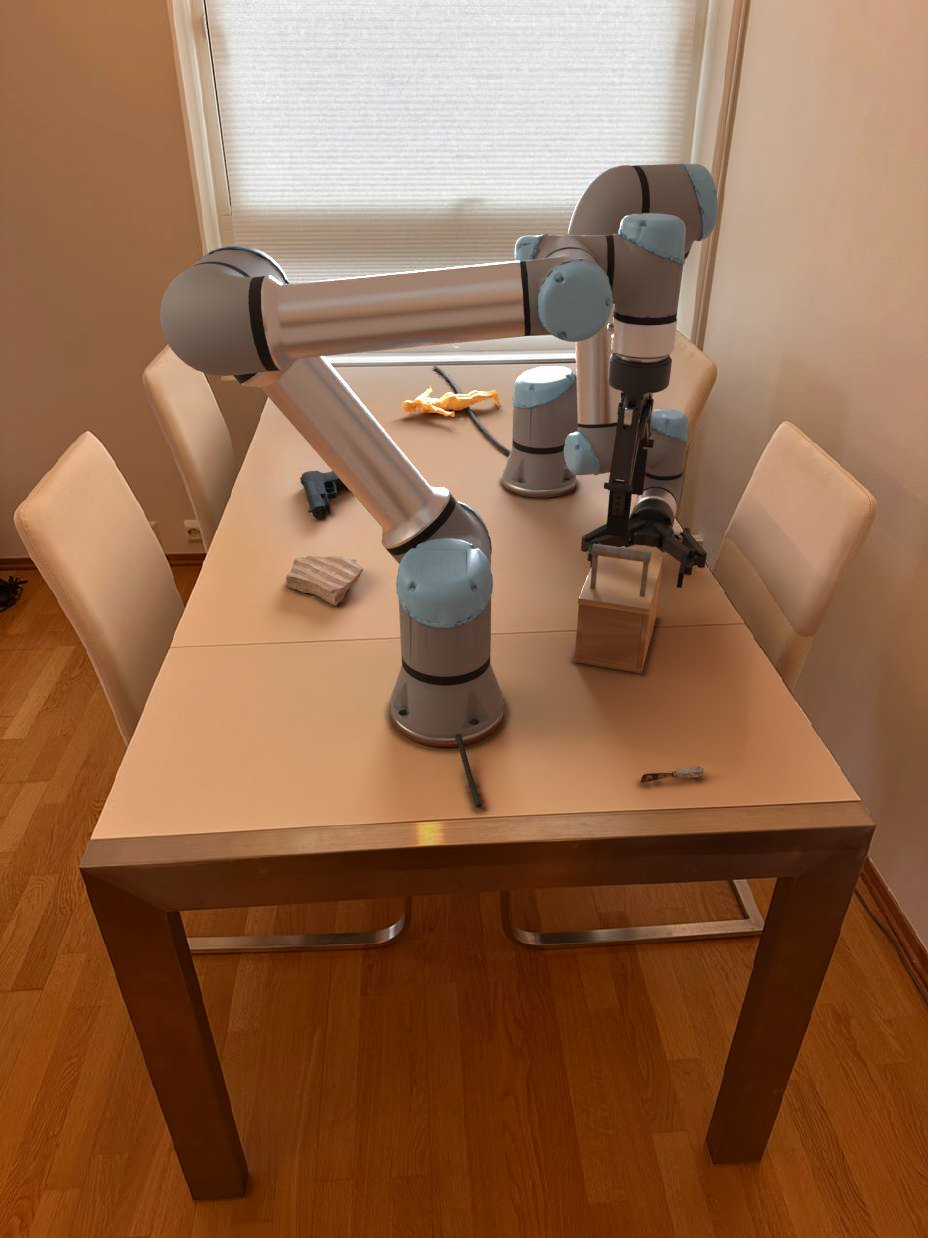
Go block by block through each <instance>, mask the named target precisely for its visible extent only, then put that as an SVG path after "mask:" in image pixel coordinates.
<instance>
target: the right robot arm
mask: <svg viewBox="0 0 928 1238" xmlns="http://www.w3.org/2000/svg"><path fill="white" fill-rule="evenodd" d="M715 183H716V182H715V179H714V178H713V176H712V174H711V173H710V171H709V170H708V168H706V167H705V166H703V165H702V164H699V163H685V162H682V161H679V162H677V163H663V164H662V163H661V164H634V165H630V164H620V165H616V166H613V167H610V168H607V169H606V170H603V172H601V173H600V174H598V175H597V176H596V177H595V178H593V179H592V180H591V182H590V183H589V184H588V185H587V186H586V188H585V189H584V190H583V192H582V194H581V196H580V197H579V199H578V201H577V202H576V205H575V207H574V210H573V212H572V215H571V218H570V222H569V225H568V231H567V235H599V236H605V235H611V234H618V230H619V229H620V225H621V221H622V219H623V218H624V217H625V216H627V215H631V214H643V213H656V214H668V215H673V216H677V217H679V218H680V219H681V220H683V222H684V223H685V226H686V238H685V255H684V259H685V261H686V260H687V259H688V258H689V254H690V252H691V249H692V247H693V245H694V242H695V241H696V242H702V241H704V240H706V239H707V238H709V237H710V236H711V235H712V233H713V231H714V230H715V227H716V223H717V218H718V210H719V207H718V204H719V203H718V201H719V200H718V194H717V187H716V184H715ZM613 312H614V304H612V310H611V313H610V316H609V319H608V321H607V322H606V324H605V325H604V327H603V328H602V329H601V330H600V331H599V332H598V333H597V334H595V335H594V336H593V337H591V338H589V339H586V340H583V341H579V342H574V344H575V371H576V373H574V372H573V370H572V369H571V368H569V367H566V366H563V365H555V366H553V365H545V366H537V367H535V368H530V369H528V370H526V371H524V372H522V373H521V374H520V375H519V376H518V377H516V380H515V382H514V385H513V395H512V398H511V399H512V400H511V402H512V439H511V440H512V441H511V442H512V443H511V449H510V450H509V449H508V448H507V447H505V446H504V445H502V444H501V443H500V442H499V441H497V440H496V439H495V438H494V436H492V435H491V434H490V433H489V431H488V430H486V429H485V427H484V426H483V424H482V423H480V421H479V420H478V418H477V416H475V414H474V413H473V411H472V409H471V407H470V406H469V407H467V408H465V409H466V411H467V412H468V414H469V416H470V417H471V418H472V420H473V422H474V423H475V424H476V425H477V427H478V428H479V429H480V431H482V432H483V434H484V435H485V436H486V437H487V438H488V439H489V440H490V441H491V442H492V443H493V444H494V445H495V446H497V448H499V449H501V451H503V452H505V453H506V454H507V455H508V458H507V460H506V463H505V467H504V469H503V473H502V485H503V487H504V488H505V489H506V490H508V491H509V492H511V493H513V494H515V495H519V496H522V497H527V498H538V499H540V498H541V499H543V498H544V499H545V498H554V497H561V496H563V495H566V494H568V493H570V492H572V491H573V490H574V489H575V488H576V483H577V476H590V475H593V476H598V475H602V474H608V473H609V474H610V470H611V463H612V457H613V450H614V443H615V437H616V427H617V422H618V405H619V402H621V401H622V396H625V393H624V392H622V391H620V390H616V389H614V388H612V387H611V386H610V385H609V383H608V371H609V359H610V356H611V355H612V354H613V353H614V352H613V351H612V349H611V341H612V335H613V332H610V331H608V330H607V327H608V325H609V324H612V323H613V318H614V317H613ZM433 368H435V370H437V371H438V372H439V373H440V374H441V375H442V376H443V377H444V378H445V379H446V380H447V381H448V382H449V383H450V385H451V386H452V387H453V389H454V390H455V392H456V394H462V393H461V391H460V389H459V388H458V386H457V385H456V383H455V382H454V381H453V380H452V378H450V376H449V375H448V374H447V373H446V372H445V371H444V370H443V369H441V368H440V367H439V366H438V365H437V364H434V366H433ZM689 426H690V419H689V417H688V415H687V414H685V413H684V412H682V411H681V410H677V409H673V408H657V409H653V410H652V416H651V436H650V438H649V439H651V440H654V445H653V448H647V447H644V449H648V453H647V462H646V471H645V480H644V489H643V495H636V499H635V502H634V505H633V506H632V510H631V512H630V518H629V528H628V536H627V537H619V536H612V535H606V526H607V522H606V523H604V524H603V525H601V526H599V527H597V528H594V530H592V531H590V532H588V533H586V534H584V535H582V536H581V539H580V540H581V541H580V552H582V553H587V559H586V560H587V562H590V566H589V567H590V568H589V570H590V569H591V567H592V559H593V555H592V554H591V552H592V546H593V544H599V545H606V546H614V547H621V548H629V547H633V546H646V547H650V548H656V549H657V550H658V551H660V552H661V553H667V554H668V555H669V556H671V557H672V558H673V559H674V560H676V561H677V562H678V563H679V564H680V565H679V568H678V575H677V582H676V588H678V589H682V587H683V583H684V578H685V576H691V575H693V570H694V567H697V568H698V569H704V568H705V567H706V562H707V555H708V553H707V552H706V550H705V549H704V547H702V545H701V544H700V543H699V542H698V540H697V539H696V538H695V537H694V536H693V535H692V533H691V532H692V531H691V528H689V527H683V528H682V530H680V531H679V530H678V531H677V530H674V524H675V520H676V515H677V512H678V506H679V503H680V500H681V498H682V494H683V479H684V464H685V459H686V453H687V446H688V442H689V432H690V427H689Z"/></svg>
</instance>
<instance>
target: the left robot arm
mask: <svg viewBox="0 0 928 1238" xmlns="http://www.w3.org/2000/svg"><path fill="white" fill-rule="evenodd" d="M685 238H686V226H685V223H684V222H683V220H681V219H680V218H679V217H677V216H673V215H668V214H656V213H643V214H631V215H627V216H625V217H624V218H623V219H622V221H621V225H620V229H619V230H618V234H611V235H605V236H599V235H568V234H549V233H541V234H539V235H535V234H534V235H523V236H521V237H519V238H518V239H517V240H516V242H515V245H514V256H513V257H514V259H513V261H512V260H511V261H503V262H502V261H501V262H493V263H482V264H472V265H463V266H453V267H443V268H433V269H424V270H423V269H422V270H414V271H413V270H412V271H404V272H395V273H394V272H393V273H384V274H375V275H373V274H372V275H365V276H355V277H344V278H334V279H323V280H315V281H305V282H294V283H290V281H289V279H288V277H287V275H286V273H285V271H284V270H283V268H282V267H281V266H280V264H279V263H278V262H276V260H275V259H274V258H272V257H271V256H270V255H268V254H267V253H265V252H264V251H262V250H259V249H258V248H255V247H251V246H246V245H240V244H239V245H238V244H237V245H228V246H223V247H218V248H216V249H213V250H210V251H208V253H207V254H205V255H203V256H201V257H200V258H199V259H198V260H197V261H196V262H195V263H193V264H192V265H191V266H190V267H189V268H186V269H184V270H183V271H182V272H180V273H178V274H177V276H176V277H174V278H173V279H172V280H171V282H170V283H169V285H168V286H167V288H166V289H165V291H164V293H163V297H162V299H161V303H160V308H159V315H160V316H159V321H160V326H161V331H162V333H163V336H164V339H165V341H166V344H167V345H168V347H169V348H170V350H171V351H172V352H173V353H174V355H175V356H176V357H177V358H178V359H180V360H181V361H182V362H183V363H184V364H185V365H186V366H188V367H190V368H192V369H193V370H195V371H198V372H200V373H203V374H206V375H210V376H216V377H217V376H220V377H227V376H228V377H230V376H233V377H234V378H235V380H236V381H237V382H238V383H239V384H240V385H241V386H242V387H251V388H258V389H260V390H262V391H263V393H264V394H265V395H266V396H267V397H268V398H269V400H270V401H271V402H272V403H273V404H274V405H275V406H276V407H277V409H278V410H279V411H280V412H281V413H282V414H283V416H285V418H286V419H287V420H288V421H289V422H290V424H291V425H292V426H293V427H294V428H295V430H297V432H298V433H299V434H300V435H301V436H302V437H303V439H304V440H305V441H306V442H307V443H308V444H309V446H310V447H311V448H312V449H313V451H315V452H316V453H317V455H318V456H319V457H320V458H321V459H322V460H323V462H324V463H325V464H326V465H327V466H328V467H329V468H330V470H331V471H333V472H334V473H335V474H336V475H337V476H338V477H339V479H340V480H341V481H342V482H343V483H344V484H345V485H346V487H347V488H348V491H349V492H351V493H352V495H353V496H354V497H355V498H356V500H357V501H358V502H359V503H360V504H361V505H362V507H364V508H365V509H366V511H367V512H368V514H370V515H371V517H372V518H373V519H374V520H375V521H376V522H377V524H378V525H379V526H380V527H381V530H382V534H381V545H382V546H383V548H384V549H385V550H386V551H387V553H389V554H390V555H391V557H392V558H393V559H394V560H395V561H396V562H397V564H398V568H397V575H396V581H395V589H396V594H397V598H398V611H399V612H398V613H399V633H400V634H399V635H400V655H401V667H400V669H399V672H398V675H397V678H396V681H395V684H394V687H393V690H392V693H391V696H390V704H389V705H390V718H391V721H392V724H393V725H394V727H395V728H396V729H397V731H398V732H399V733H400V734H402V735H403V736H404V737H406V738H407V739H409V740H411V741H413V742H415V743H417V744H420V745H421V744H422V745H425V746H430V747H437V748H454V747H455V748H457V747H458V750H459V754H460V758H461V761H462V765H463V769H464V773H465V776H466V780H467V783H468V787H469V790H470V793H471V796H472V799H473V801H474V806H475V808H477V809H481V808H482V806H483V804H482V801H481V798H480V795H479V792H478V790H477V789H478V788H477V786H476V783H475V779H474V777H473V773H472V769H471V765H470V761H469V759H468V754H467V750H466V746H467V745H471V744H473V743H476V742H480V741H481V740H483V739H485V738H486V737H488V736H489V735H491V734H492V733H493V732H494V731H495V730H496V729H498V727H499V726H500V724H501V722H502V720H503V717H504V697H503V693H502V690H501V687H500V685H499V682H498V679H497V677H496V674H495V672H494V668H493V666H492V664H491V654H492V653H491V651H492V649H491V648H492V647H491V645H492V595H493V589H494V577H493V573H492V553H493V552H492V551H493V549H492V548H493V547H492V539H491V536H490V533H489V529H488V527H487V525H486V523H485V521H484V519H483V518H482V516H481V515H480V514H479V512H477V510H475V509H474V508H473V507H471V506H470V505H468V504H466V503H464V502H461V501H457V500H456V499H455V497H454V495H452V493H451V492H450V491H449V490H448V489H447V488H445V487H436V486H431V485H430V484H429V483H428V482H427V480H426V479H425V477H423V476H422V474H421V473H420V472H419V470H418V469H417V468H416V467H415V466H414V464H413V463H412V462H411V460H410V459H409V458H408V457H407V456H406V454H405V453H404V452H403V450H401V448H400V447H399V446H398V445H397V444H396V442H395V441H394V440H393V438H391V437H390V435H389V434H388V433H387V432H386V430H385V429H384V427H382V425H381V424H380V423H379V422H378V420H377V419H376V418H375V417H374V416H373V414H372V413H371V411H369V409H368V408H367V406H365V404H363V402H362V401H361V400H360V398H359V397H358V396H357V395H356V393H355V392H354V391H353V390H352V389H351V387H350V386H349V385H348V384H347V382H346V381H345V380H344V379H343V378H342V376H341V374H339V372H338V371H337V370H336V369H335V368H334V366H332V364H331V363H330V362H329V360H328V359H327V358H326V357H330V356H340V355H341V356H342V355H349V354H360V353H369V352H379V351H380V352H381V351H390V350H401V349H402V350H403V349H411V348H419V347H421V348H422V347H431V346H440V345H441V346H442V345H450V344H451V345H452V344H461V343H471V342H481V341H493V340H502V339H512V338H523V337H536V336H538V337H539V336H548V335H551V336H553V337H554V338H557V339H558V340H561V341H565V342H568V343H575V342H579V341H583V340H586V339H589V338H591V337H593V336H594V335H595V334H597V333H598V332H599V331H600V330H601V329H602V328H603V327H604V325H605V324H606V322H607V321H608V319H609V316H610V313H611V310H612V304H614V312H613V317H614V318H613V323H612V324H609V325H608V327H607V330H608V331H610V332H613V335H612V341H611V349H612V351H613V352H614V353H613V354H612V355H611V356H610V359H609V371H608V383H609V385H610V386H611V387H612V388H614V389H616V390H620V391H622V392H624V393H625V396H622V401H621V402H619V405H618V422H617V427H616V437H615V443H614V450H613V457H612V463H611V470H610V473H609V476H608V482H606V481H605V482H603V489H604V490H607V491H609V492H608V493H609V494H608V507H607V517H606V523H607V526H606V535H612V536H619V537H627V536H628V528H629V519H630V516H631V507H632V497H633V495H635V496H638V495H643V489H644V480H645V471H646V462H647V453H648V449H644V447H647V448H653V445H654V440H651V439H649V438H650V436H651V416H652V411H654V404H655V398H653V394H655V393H660V392H663V391H665V390H667V388H668V387H669V386H670V381H671V373H672V364H673V359H672V357H671V356H670V355H672V354H673V353H674V351H675V343H676V334H677V328H678V327H677V325H678V309H679V302H680V294H681V286H682V279H683V272H684V265H685V263H686V260H685V259H684V255H685Z"/></svg>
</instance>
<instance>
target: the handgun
mask: <svg viewBox="0 0 928 1238" xmlns="http://www.w3.org/2000/svg"><path fill="white" fill-rule="evenodd" d="M299 480H300V484H301V485H302V486H303V490H304V493H305V495H306V499H307V502H308V505H309V508H310V509H308V510H307V511H308V512H307V513H310V514H312V515H311V516H312V517H313V518H314V519H315V520H321V519H326V516H327V514H328V515H331V506H330V501H331V500H335V499H337V498H338V493H339V492H343V491H349V489H348V488H347V487H346V485H345V484H344V483H343V482H342V481H341V480H340V479H339V477H338V476H337V475H336V474H335V473H334V472H333V471H332V470H330V471H327V472H321V471H319V470H309V471H305V472H303V473H302V474H301V476H300V477H299Z"/></svg>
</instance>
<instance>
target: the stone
mask: <svg viewBox="0 0 928 1238" xmlns="http://www.w3.org/2000/svg"><path fill="white" fill-rule="evenodd" d="M363 571H364V568H363V566H361V565H360V564H358V562H357V559H356V558H355V559H350V558H346V557H343V556H339V555H338V556H335V555H334V556H333V555H332V556H325V557H323V556H316V555H307V556H305V557H301V556H298V557H295V558H294V559H293V562H292V566H291V567H290V571H289V573H288V574H286V576H285V585H284V586H285V587H286V588H289V589H292V590H296V591H299V592H301V593H305V594H306V593H308V594H311V595H315V596H317V597H319V598H321V599H322V600H323V601H325V602H327V603H329V604H330V605H332V606H338V604H339V603H340V602H342V601H343V600H344V598H345V595H346V593H347V590H349V589H350V588H351V586H352V585H354V584H355V583H357V582H358V580H359V578H360V576H361V575H362V573H363Z"/></svg>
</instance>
